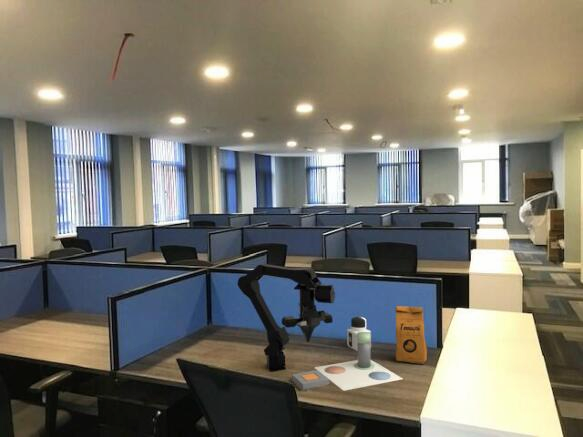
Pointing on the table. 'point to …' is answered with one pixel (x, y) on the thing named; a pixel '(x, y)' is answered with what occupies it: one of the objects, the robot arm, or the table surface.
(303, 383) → the button housing
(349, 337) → the container
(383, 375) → the white square board
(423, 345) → the coffee package
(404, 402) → the table surface
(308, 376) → the button
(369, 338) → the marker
